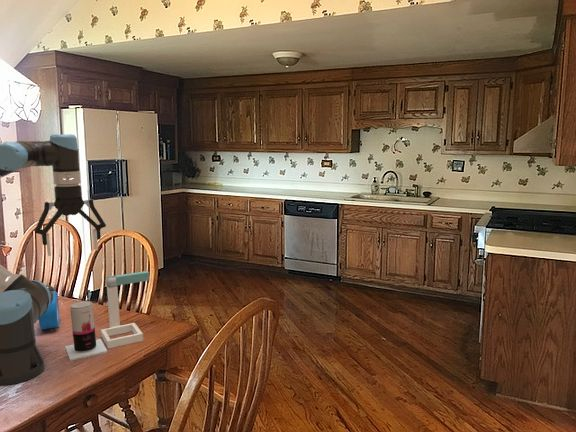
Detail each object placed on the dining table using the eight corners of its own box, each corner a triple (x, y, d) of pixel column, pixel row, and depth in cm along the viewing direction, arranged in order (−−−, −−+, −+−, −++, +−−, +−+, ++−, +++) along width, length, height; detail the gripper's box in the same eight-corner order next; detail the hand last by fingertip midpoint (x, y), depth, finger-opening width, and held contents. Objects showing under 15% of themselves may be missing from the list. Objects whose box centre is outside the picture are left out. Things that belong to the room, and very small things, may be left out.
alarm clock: (58, 332, 171) (54, 292, 169) (39, 335, 169) (35, 294, 166) (60, 320, 183) (56, 281, 181) (41, 322, 181) (37, 283, 178)
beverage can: (93, 351, 154) (89, 307, 152) (72, 353, 153) (67, 308, 151) (98, 343, 161) (94, 300, 158) (77, 345, 160) (73, 301, 157)
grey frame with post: (108, 348, 158) (104, 302, 156) (97, 329, 174) (94, 287, 171) (143, 340, 164) (140, 296, 161) (130, 323, 179) (127, 282, 177)
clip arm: (150, 280, 177) (149, 272, 177) (107, 287, 170) (106, 279, 170) (147, 278, 180) (147, 270, 180) (105, 284, 173) (105, 276, 173)
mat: (70, 361, 150) (69, 359, 150) (65, 347, 159) (65, 346, 159) (107, 352, 155) (107, 350, 155) (100, 340, 165) (100, 338, 165)
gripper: (21, 188, 140) (28, 260, 144) (112, 183, 152) (116, 249, 156) (21, 186, 147) (28, 254, 150) (108, 181, 159) (112, 245, 162)
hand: (73, 252), depth 153 cm, fingers open, 13 cm apart
